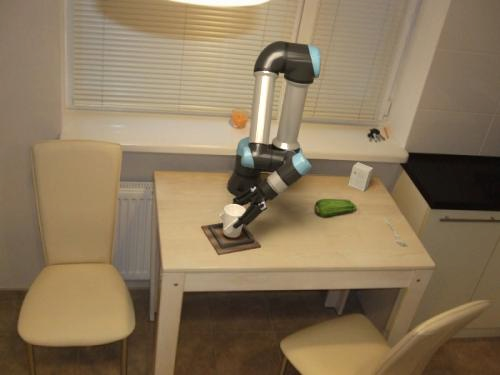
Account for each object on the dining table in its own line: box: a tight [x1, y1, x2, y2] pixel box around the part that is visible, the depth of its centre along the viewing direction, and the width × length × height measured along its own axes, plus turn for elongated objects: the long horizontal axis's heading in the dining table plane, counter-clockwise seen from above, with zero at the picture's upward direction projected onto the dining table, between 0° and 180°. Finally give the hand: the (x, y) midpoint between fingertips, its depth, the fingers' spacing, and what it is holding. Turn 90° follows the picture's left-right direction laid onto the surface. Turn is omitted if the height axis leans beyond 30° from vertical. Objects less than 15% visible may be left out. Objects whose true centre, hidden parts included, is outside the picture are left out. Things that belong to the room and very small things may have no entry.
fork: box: [383, 216, 408, 246], centre depth 223 cm, size 3×24×2 cm, turn 8°
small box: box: [347, 161, 374, 193], centre depth 248 cm, size 8×6×10 cm
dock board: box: [200, 222, 262, 256], centre depth 201 cm, size 17×17×2 cm
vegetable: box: [314, 198, 357, 217], centre depth 226 cm, size 7×7×20 cm
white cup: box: [222, 203, 247, 238], centre depth 198 cm, size 8×8×10 cm
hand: (223, 224), depth 198 cm, fingers closed on white cup, 7 cm apart
